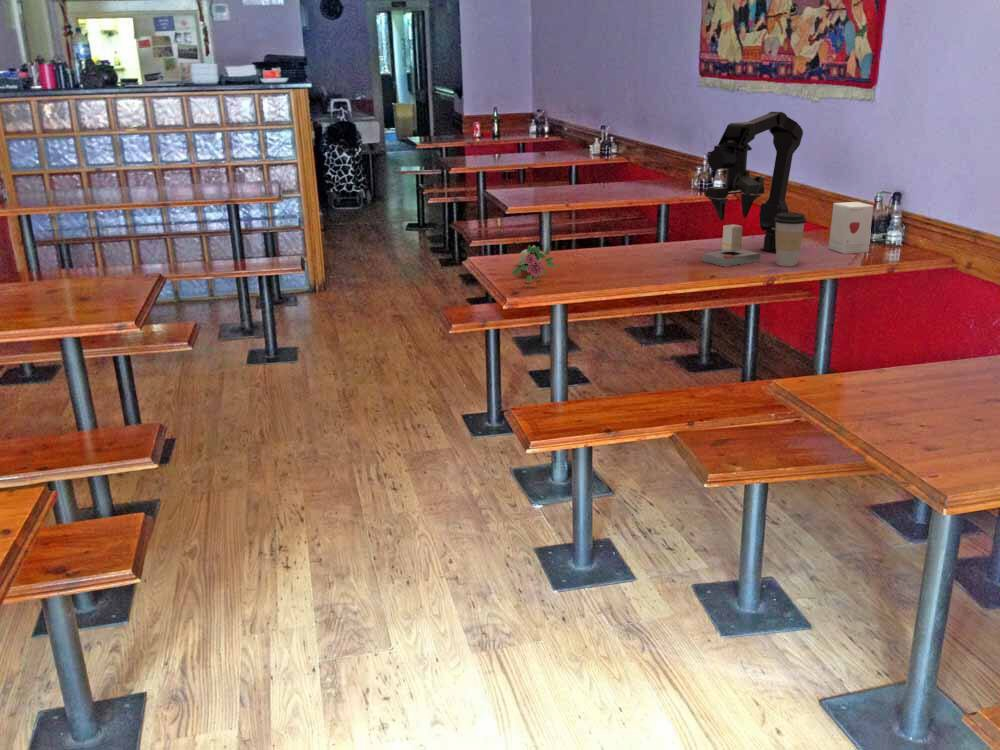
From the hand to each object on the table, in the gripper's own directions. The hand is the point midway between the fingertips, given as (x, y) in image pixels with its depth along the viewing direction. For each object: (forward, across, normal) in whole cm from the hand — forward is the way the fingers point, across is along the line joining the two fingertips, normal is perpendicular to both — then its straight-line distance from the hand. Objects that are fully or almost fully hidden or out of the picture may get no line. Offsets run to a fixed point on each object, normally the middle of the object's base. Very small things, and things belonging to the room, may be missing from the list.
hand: (733, 219), depth 283 cm
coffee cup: (+13, +10, -13) cm, 21 cm away
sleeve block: (+13, -1, -1) cm, 13 cm away
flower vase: (+13, -62, +15) cm, 65 cm away
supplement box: (+13, +41, -9) cm, 44 cm away
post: (+9, -1, -1) cm, 9 cm away
